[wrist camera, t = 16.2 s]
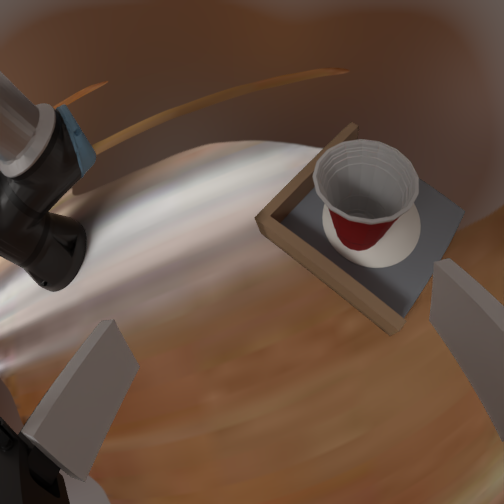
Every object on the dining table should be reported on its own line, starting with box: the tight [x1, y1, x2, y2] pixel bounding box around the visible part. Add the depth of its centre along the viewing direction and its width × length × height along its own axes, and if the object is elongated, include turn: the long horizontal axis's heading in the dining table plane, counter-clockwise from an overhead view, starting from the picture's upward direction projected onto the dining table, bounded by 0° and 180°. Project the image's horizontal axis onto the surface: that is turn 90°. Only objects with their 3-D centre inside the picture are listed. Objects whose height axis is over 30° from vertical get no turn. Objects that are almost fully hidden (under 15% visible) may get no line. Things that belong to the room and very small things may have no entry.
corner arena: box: [255, 122, 465, 336], centre depth 35 cm, size 22×22×4 cm
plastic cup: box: [312, 139, 419, 251], centre depth 31 cm, size 11×11×12 cm
